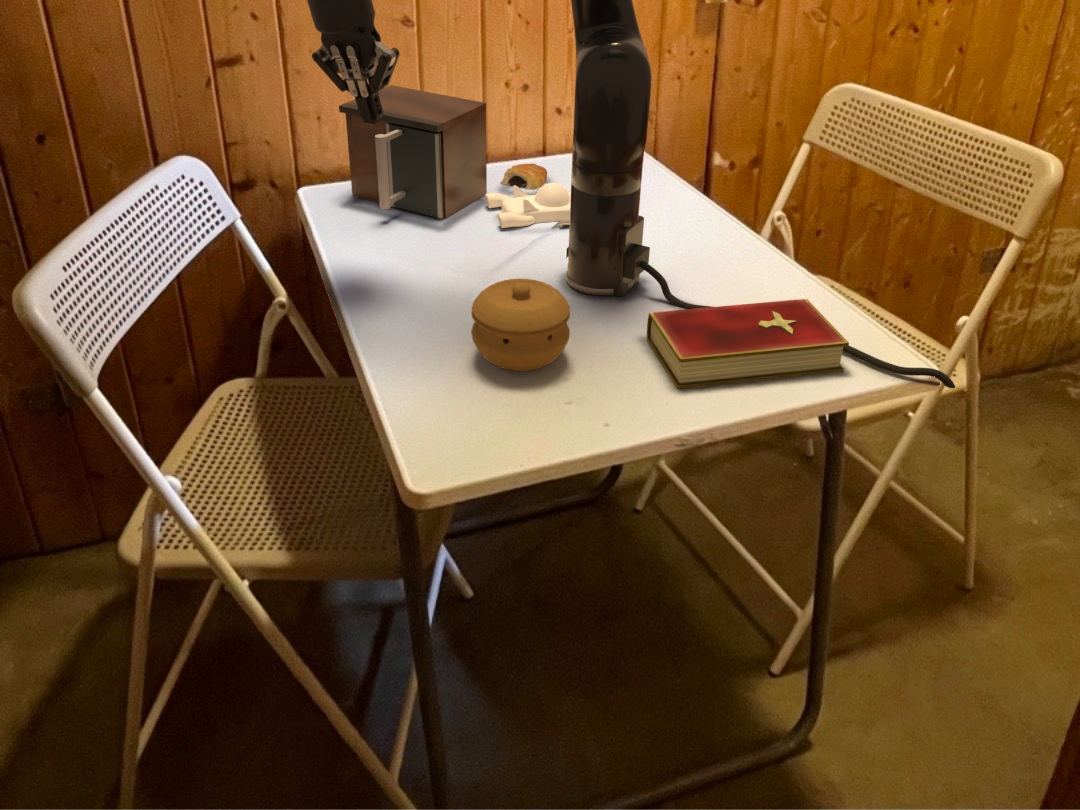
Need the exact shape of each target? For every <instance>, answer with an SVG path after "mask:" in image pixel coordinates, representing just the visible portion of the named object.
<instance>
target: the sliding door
mask: <svg viewBox="0 0 1080 810" xmlns="http://www.w3.org/2000/svg"><path fill="white" fill-rule="evenodd" d="M386 133H387V134H385V135H384V134H378V135H375V143H376V157H377V172H378V186H379V200H380V202H379V208H380V209H381V210H390V209H391V207H393V208H396V209H400V210H401V209H402V210H405V211H409V212H413V213H418V214H421V215H426V216H430V217H433V218H437V219H444V218H443V194H442V164H441V134H440V133H436V132H432V131H427V130H422V129H417V128H412V127H407V126H403V125H398V124H393V123H386ZM387 149H388V157H387ZM388 165H389V173H388ZM389 181H390V188H389Z"/></svg>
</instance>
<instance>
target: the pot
mask: <svg viewBox="0 0 1080 810" xmlns="http://www.w3.org/2000/svg"><path fill="white" fill-rule="evenodd" d="M570 310H571V306H570V304H569V302H568V300H567V299H566V297H565V296H564V295H563V294H562V292H560V291H559V290H558V289H556V288H555V287H553V286H552V285H550V284H548V283H545V282H543V281H540V280H536V279H531V278H510V279H504V280H501V281H497V282H495V283H493V284H490V285H489V286H487V287H486V288H484V289H483V290H482V291H481V292H480V293H478V295H477V296H476V298H475V299H474V300H473V302H472V306H471V317H472V320H473V321H474V322H473V324H472V327H471V330H470V333H471V334H470V335H471V338H472V342H473V344H474V345H475V347H476V349H477V350H478V351H479V353H480V354H481V356H483V358H484V359H486V360H487V361H489V362H490V363H491V364H493V365H495V366H497V367H499V368H501V369H505V370H511V371H519V372H520V371H533V370H537V369H540V368H543V367H545V366H547V365H549V364H551V363H552V362H553V361H554V360H556V359H557V358H558V357H559V356H560V355H561V354H562V352H563V351H564V349H565V348H566V346H567V344H568V343H569V340H570V334H571V333H570V332H571V330H570V329H571V328H570V327H569V324H568V321H569V320H570V318H571V311H570Z"/></svg>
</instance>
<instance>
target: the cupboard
mask: <svg viewBox="0 0 1080 810" xmlns="http://www.w3.org/2000/svg"><path fill="white" fill-rule="evenodd" d="M378 94H379V98H380V102H381V105H382V109H383V116H382V120H380V121H379V122H378V123H376V124H365V123H364V121H363V119H362V118H361V116H360V114H359V110H358V107H357V103H356V100H355V99H352V100H350V101H347V102H344V103H342V104H340V105H338V112H339V113H342V114H345V125H346V137H347V146H348V147H347V149H348V160H349V171H350V185H351V193H352V194H351V195H352V196H353V197H355V198H356V197H357V198H360V199H364V200H369V201H371V202H372V201H373V202H377V203H380V200H379V186H378V172H377V157H376V143H375V135H378V134H384V135H385V134H387V133H386V123H393V124H398V125H403V126H407V127H412V128H417V129H422V130H427V131H432V132H436V133H440V134H441V164H442V194H443V218H442V219H445V220H446V219H448V218H451V216H453V215H455V214H457V213H458V212H460V211H462V210H463V209H465V208H466V207H468V206H470V205H472V204H473V203H475V202H476V201H479V200H480V199H482V198H483V197H485V194H487V193H488V183H487V180H488V179H487V177H488V176H487V172H488V171H487V167H488V166H487V102H482V101H478V100H472V99H467V98H461V97H458V96H457V97H456V96H451V95H446V94H441V93H440V94H439V93H436V92H430V91H426V90H420V89H414V88H409V87H404V86H398V85H393V84H390V85H387V86H386V87H384V88H383V89H381V90H380V91H379V92H378ZM387 157H388V149H387ZM388 173H389V165H388ZM389 188H390V181H389Z"/></svg>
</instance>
